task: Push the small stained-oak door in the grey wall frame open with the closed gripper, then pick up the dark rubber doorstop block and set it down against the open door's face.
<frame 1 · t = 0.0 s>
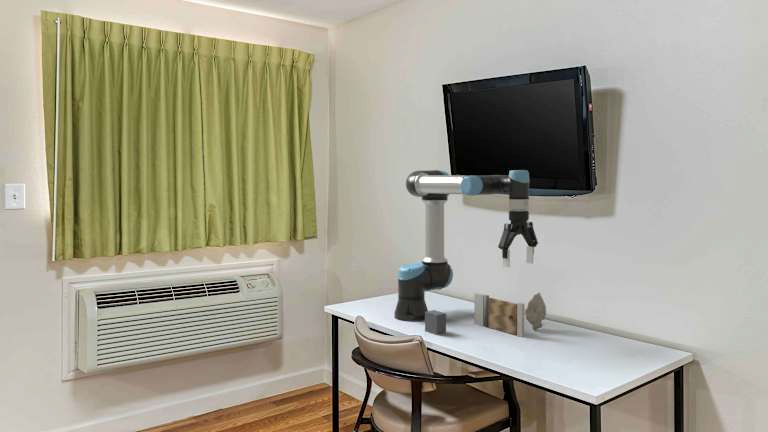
hand: (518, 265, 229), 28 cm above the table, fingers open, 13 cm apart
door frame: (486, 326, 245), on the table
doorstop block: (435, 332, 238), on the table
stone tool: (536, 330, 240), on the table
door: (502, 316, 237), point 6 cm above the table, hinge at 0.0°
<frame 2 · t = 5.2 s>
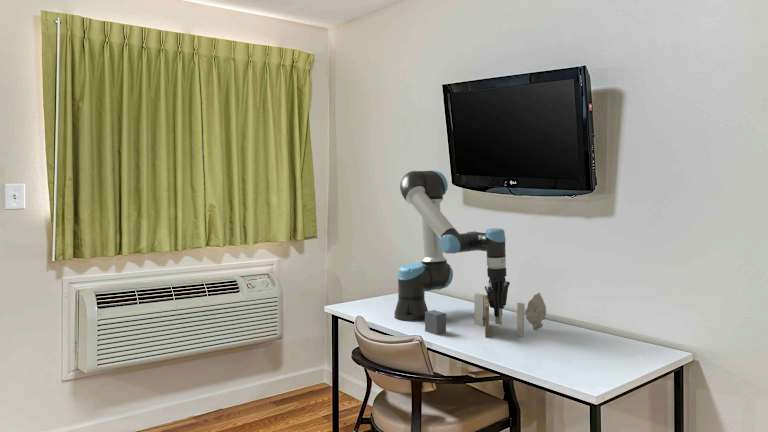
hand: (498, 324, 241), 2 cm above the table, fingers closed
door: (485, 316, 236), point 6 cm above the table, hinge at 45.9°, touching hand
everything else where it was.
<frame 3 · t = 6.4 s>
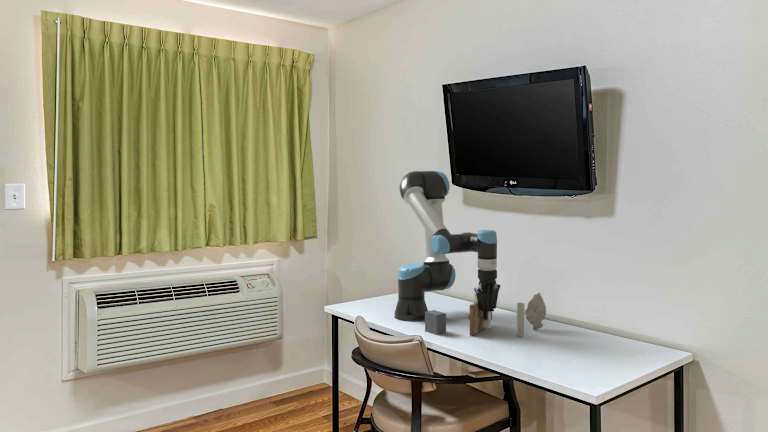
hand: (487, 327, 237), 2 cm above the table, fingers closed
door: (476, 316, 238), point 6 cm above the table, hinge at 67.7°, touching hand
everything else where it was.
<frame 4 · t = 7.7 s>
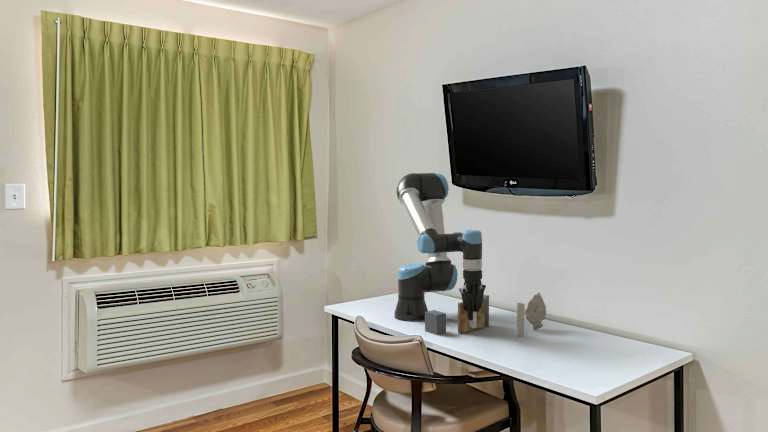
hand: (472, 327, 237), 2 cm above the table, fingers closed
door: (470, 314, 240), point 6 cm above the table, hinge at 87.5°, touching gripper, hand
everything else where it was.
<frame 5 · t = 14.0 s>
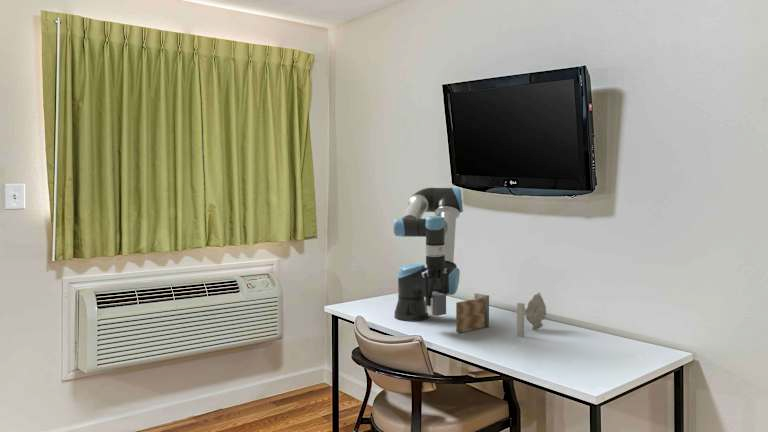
hand: (435, 312, 238), 8 cm above the table, fingers closed on doorstop block, 5 cm apart
doorstop block: (435, 313, 238), point 8 cm above the table, touching gripper
door: (469, 314, 240), point 6 cm above the table, hinge at 90.7°
everything else where it was.
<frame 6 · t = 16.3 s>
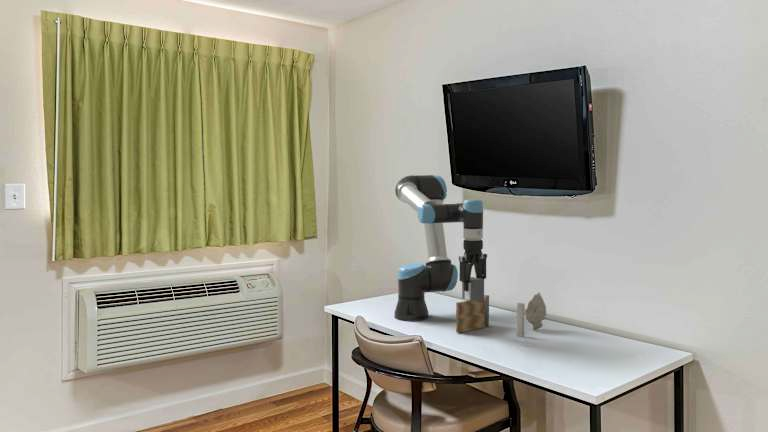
hand: (473, 298, 232), 15 cm above the table, fingers closed on doorstop block, 5 cm apart
doorstop block: (473, 298, 232), point 14 cm above the table, touching gripper
everything else where it was.
when the fingers open (1 cm above the table, at t = 18.9 s): doorstop block stays where it is, on the table.
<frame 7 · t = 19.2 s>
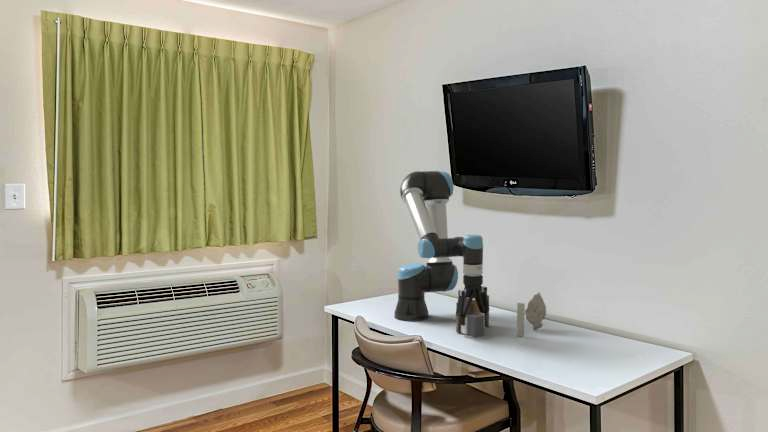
hand: (472, 331, 234), 1 cm above the table, fingers open, 9 cm apart
doorstop block: (472, 334, 234), on the table
everything else where it was.
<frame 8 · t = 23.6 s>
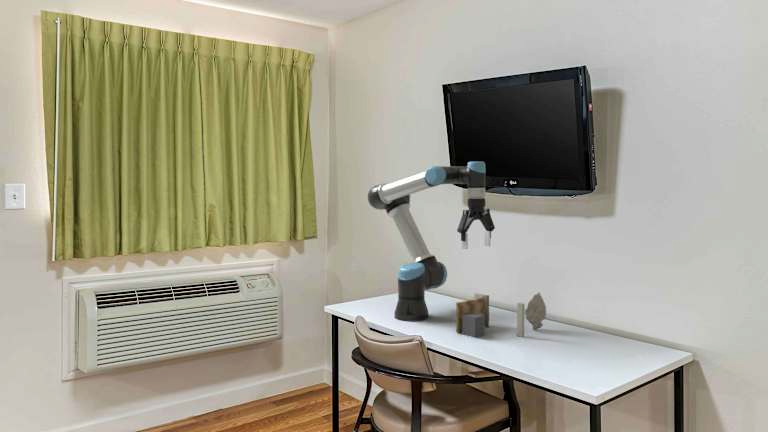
hand: (476, 247, 253), 32 cm above the table, fingers open, 13 cm apart
nothing on the table moved.
at the end: door at +91° (first picture: +0°); doorstop block inside the target area (0.1 cm from its centre), on the table; doorstop block tilted 0° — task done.
